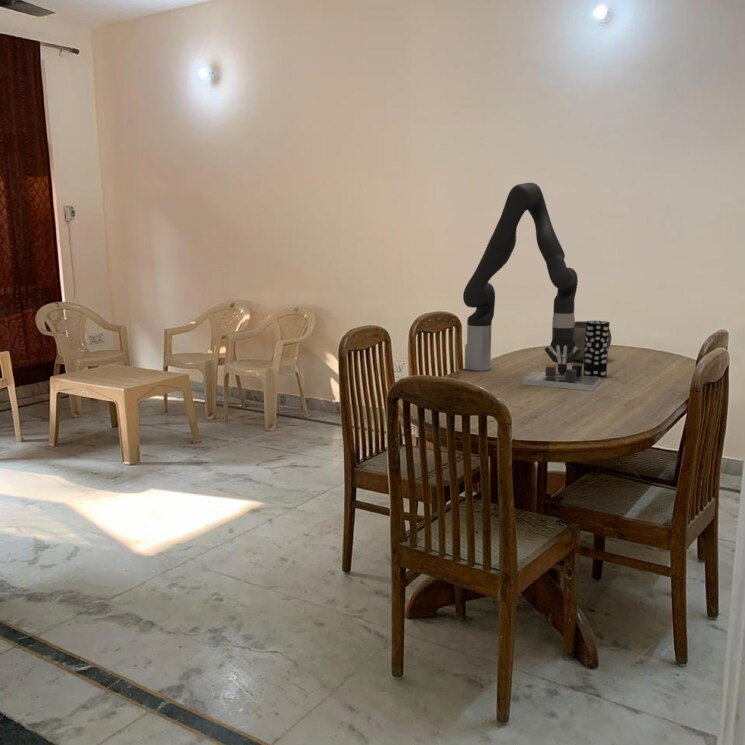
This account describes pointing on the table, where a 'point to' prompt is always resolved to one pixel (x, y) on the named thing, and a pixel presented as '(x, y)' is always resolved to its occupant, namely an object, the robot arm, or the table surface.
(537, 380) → the panel
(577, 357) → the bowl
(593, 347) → the spotted tube
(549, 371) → the block
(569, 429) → the table surface
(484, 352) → the robot arm
